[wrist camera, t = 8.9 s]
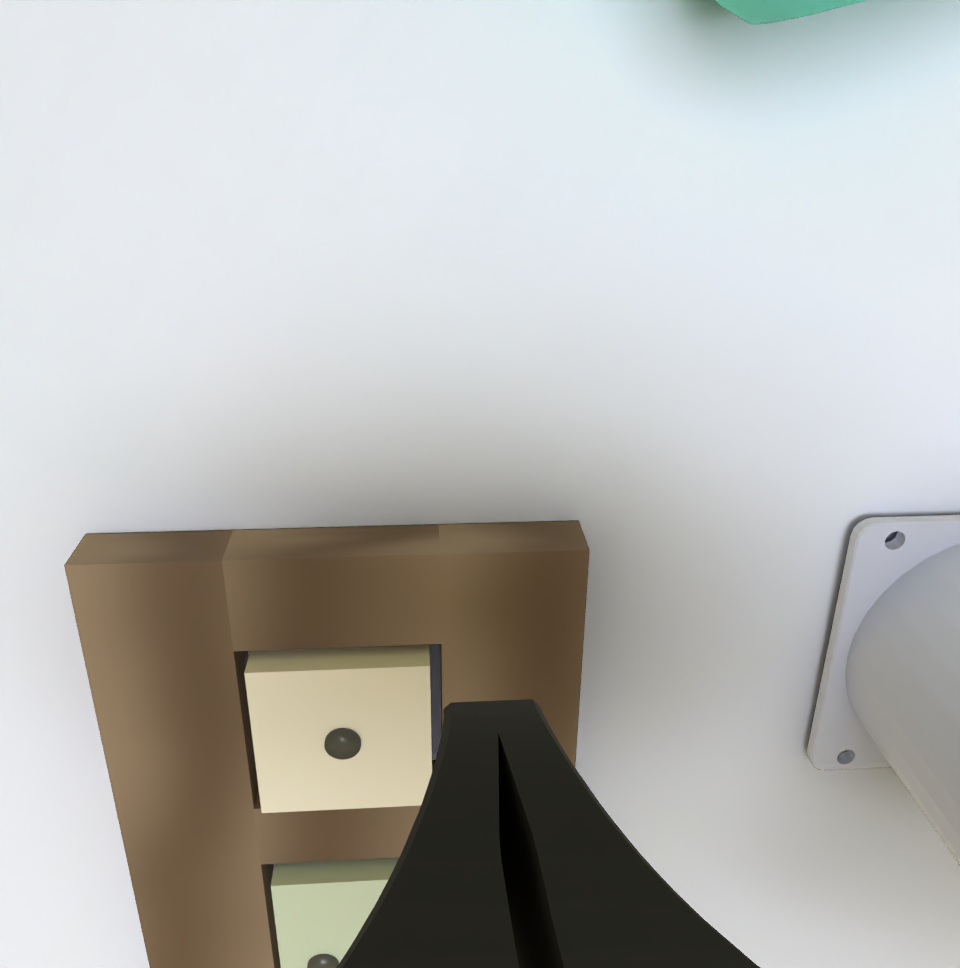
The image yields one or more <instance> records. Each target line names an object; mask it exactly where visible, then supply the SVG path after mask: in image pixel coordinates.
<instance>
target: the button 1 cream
mask: <svg viewBox="0 0 960 968" xmlns="http://www.w3.org/2000/svg"><path fill="white" fill-rule="evenodd" d="M244 675H245V683H246V691H247V699H248V707H249V715H250V723H251V731H252V739H253V747H254V755H255V764H256V772H257V780H258V788H259V796H260V804H261V812H262V813H276V812H297V811H317V810H338V809H359V808H379V807H400V806H420V805H421V804H422V802H423V799H424V796H425V793H426V790H427V787H428V783H429V780H430V777H431V774H432V743H431V691H430V653H429V644H424V645H396V646H369V647H341V648H313V649H286V650H258V651H250V653H249V657H248V661H247V665H246V668H245V672H244Z"/></svg>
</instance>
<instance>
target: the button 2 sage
mask: <svg viewBox="0 0 960 968" xmlns="http://www.w3.org/2000/svg"><path fill="white" fill-rule="evenodd" d="M398 859H399V857H394V858H375V859H356V860H337V861H318V862H299V863H280V864H274V869H273V875H272V881H271V892H272V900H273V908H274V916H275V924H276V932H277V941H278V949H279V957H280V965H281V968H336V967H337V966H338V965H339V963H340V962H341V960H342V959H343V957H344V955H345V954H346V952H347V951H348V949H349V948H350V946H351V945H352V943H353V941H354V940H355V938H356V936H357V935H358V933H359V931H360V930H361V928H362V926H363V925H364V923H365V921H366V919H367V918H368V916H369V914H370V913H371V911H372V909H373V908H374V906H375V904H376V902H377V900H378V899H379V897H380V895H381V893H382V891H383V889H384V887H385V885H386V883H387V882H388V880H389V878H390V876H391V874H392V872H393V870H394V867H395V865H396V863H397V861H398Z"/></svg>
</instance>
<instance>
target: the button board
mask: <svg viewBox="0 0 960 968" xmlns="http://www.w3.org/2000/svg"><path fill="white" fill-rule="evenodd" d="M588 564H589V547H588V545H587V542H586V539H585V537H584V534H583V531H582V529H581V526H580V523H579V521H551V522H514V523H477V524H440V525H403V526H367V527H330V528H293V529H256V530H219V531H183V532H146V533H109V534H85V536H84V537H83V539H82V540H81V542H80V543H79V545H78V546H77V547H76V549H75V550H74V552H73V553H72V555H71V556H70V558H69V559H68V561H67V562H66V564H65V565H64V566H65V571H66V576H67V580H68V585H69V590H70V594H71V599H72V604H73V608H74V613H75V618H76V623H77V627H78V632H79V637H80V641H81V646H82V651H83V655H84V660H85V665H86V669H87V674H88V679H89V684H90V688H91V693H92V698H93V702H94V707H95V712H96V716H97V721H98V726H99V731H100V735H101V740H102V745H103V749H104V754H105V759H106V763H107V768H108V773H109V778H110V782H111V787H112V792H113V796H114V801H115V806H116V810H117V815H118V820H119V824H120V829H121V834H122V839H123V843H124V848H125V853H126V857H127V862H128V867H129V871H130V876H131V881H132V886H133V890H134V895H135V900H136V904H137V909H138V914H139V918H140V923H141V928H142V932H143V937H144V942H145V947H146V951H147V956H148V961H149V965H150V968H281V965H280V957H279V949H278V941H277V932H276V924H275V916H274V908H273V900H272V892H271V881H272V875H273V869H274V864H280V863H299V862H318V861H337V860H356V859H375V858H394V857H400V855H401V853H402V850H403V848H404V846H405V843H406V841H407V839H408V836H409V834H410V831H411V829H412V827H413V824H414V822H415V820H416V817H417V815H418V812H419V810H420V807H421V805H420V806H400V807H379V808H359V809H338V810H317V811H297V812H276V813H262V812H261V804H260V796H259V788H258V780H257V772H256V764H255V755H254V747H253V739H252V731H251V723H250V715H249V707H248V699H247V691H246V683H245V675H244V672H245V668H246V665H247V661H248V651H258V650H286V649H313V648H341V647H369V646H396V645H424V644H440V672H441V735H442V728H443V709H444V708H445V707H446V706H447V705H449V704H450V703H451V702H475V701H499V700H524V699H533V700H534V701H535V702H536V703H537V704H538V705H539V706H540V708H541V710H542V712H543V714H544V716H545V718H546V720H547V722H548V724H549V726H550V727H551V729H552V731H553V733H554V735H555V736H556V738H557V740H558V741H559V743H560V745H561V746H562V748H563V750H564V751H565V753H566V754H567V756H568V758H569V759H570V761H571V762H572V764H573V765H574V767H575V761H576V746H577V731H578V715H579V700H580V685H581V670H582V655H583V640H584V625H585V609H586V594H587V579H588ZM434 765H435V761H432V771H433V768H434Z"/></svg>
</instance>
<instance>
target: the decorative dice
mask: <svg viewBox="0 0 960 968" xmlns="http://www.w3.org/2000/svg"><path fill="white" fill-rule="evenodd" d="M715 1H716V2H717V3H718V4H719V5H721V6H722V7H724V8H725V9H727V10H728V11H730V12H732V13H733V14H735V15H736V16H738V17H740V18H741V19H743V20H745V21H746V22H748V23H750V24H766V23H772V22H778V21H783V20H788V19H793V18H798V17H802V16H806V15H811V14H815V13H819V12H823V11H827V10H831V9H835V8H839V7H842V6H846V5H850V4H854V3H858V2H861V1H865V0H715Z"/></svg>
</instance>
